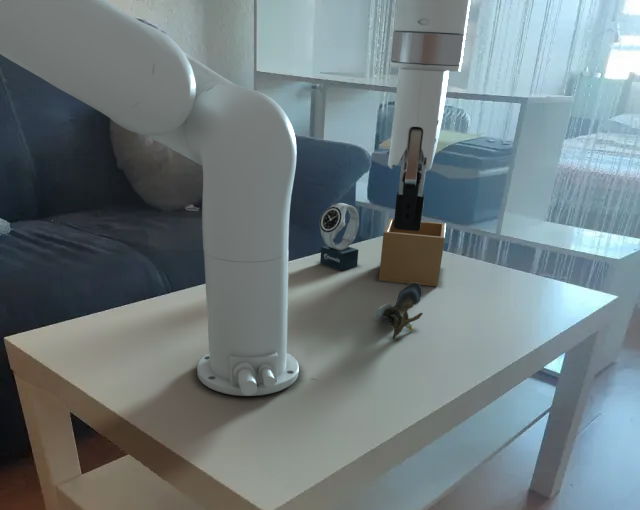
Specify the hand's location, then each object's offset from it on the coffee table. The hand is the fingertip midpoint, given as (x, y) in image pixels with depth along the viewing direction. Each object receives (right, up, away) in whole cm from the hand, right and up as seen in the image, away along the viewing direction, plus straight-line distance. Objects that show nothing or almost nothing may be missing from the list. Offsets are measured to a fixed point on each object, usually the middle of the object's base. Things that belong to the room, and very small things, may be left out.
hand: (406, 228), depth 77 cm
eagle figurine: (+1, -10, +17) cm, 20 cm away
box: (+6, +4, +39) cm, 40 cm away
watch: (-7, +6, +42) cm, 43 cm away
